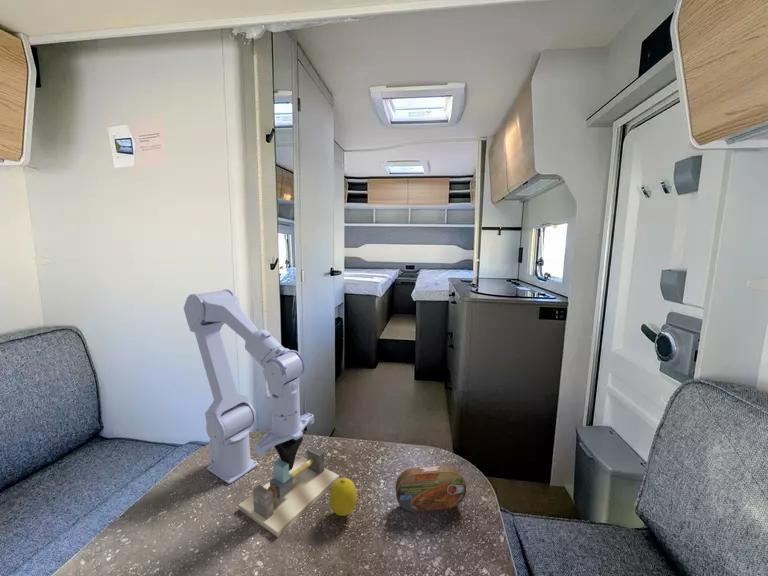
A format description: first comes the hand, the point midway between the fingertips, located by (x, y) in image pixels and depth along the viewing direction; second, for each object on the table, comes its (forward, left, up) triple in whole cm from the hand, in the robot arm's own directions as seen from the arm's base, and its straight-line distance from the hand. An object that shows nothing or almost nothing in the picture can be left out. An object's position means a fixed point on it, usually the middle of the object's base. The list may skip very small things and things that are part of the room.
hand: (287, 467), depth 71 cm
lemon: (+13, +3, -7) cm, 15 cm away
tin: (+27, +15, -7) cm, 32 cm away
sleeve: (0, -2, -4) cm, 5 cm away
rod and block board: (0, +1, -7) cm, 7 cm away
